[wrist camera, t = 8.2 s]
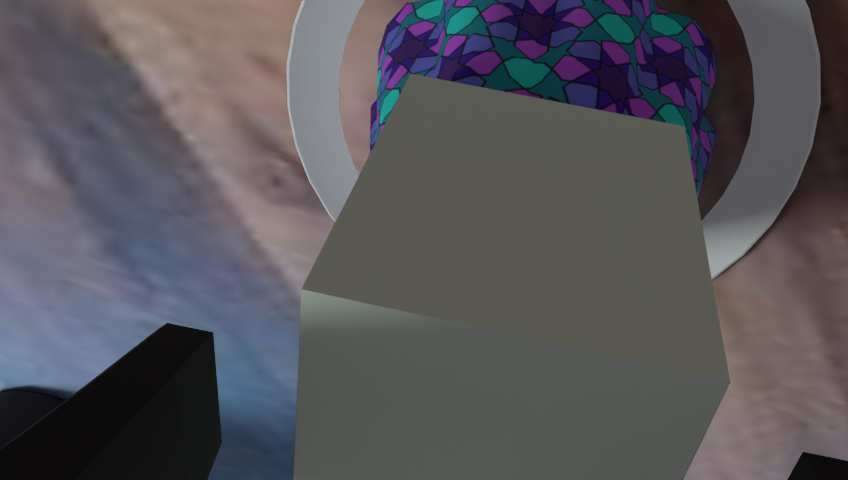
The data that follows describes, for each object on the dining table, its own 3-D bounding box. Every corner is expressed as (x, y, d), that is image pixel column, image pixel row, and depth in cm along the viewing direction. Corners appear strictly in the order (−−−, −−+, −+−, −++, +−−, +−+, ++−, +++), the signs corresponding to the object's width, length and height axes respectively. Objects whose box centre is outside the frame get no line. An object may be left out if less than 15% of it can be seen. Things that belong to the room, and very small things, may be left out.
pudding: (879, 221, 19) (956, 375, 15) (445, 356, 24) (410, 499, 20) (698, -306, 14) (736, -302, 10) (200, 1, 19) (83, 91, 15)
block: (385, 284, 16) (290, 540, 11) (410, 73, 14) (300, 289, 9) (612, 333, 16) (615, 619, 11) (684, 126, 13) (730, 382, 8)
